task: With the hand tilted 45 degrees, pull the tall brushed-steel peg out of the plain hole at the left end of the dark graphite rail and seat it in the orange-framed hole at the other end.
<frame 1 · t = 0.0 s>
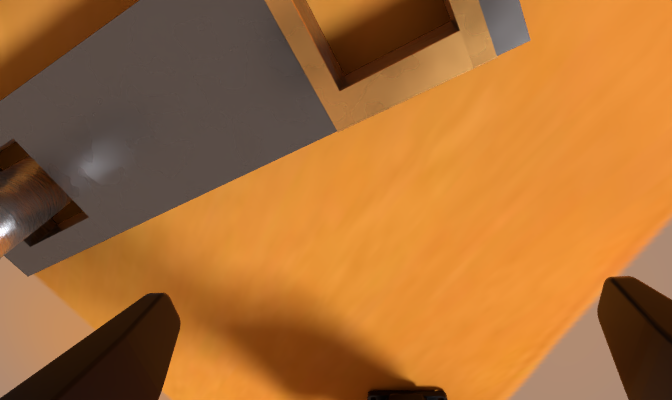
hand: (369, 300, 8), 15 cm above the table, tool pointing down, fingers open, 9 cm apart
peg: (52, 177, 26), resting in rail
rail: (184, 100, 22), on the table
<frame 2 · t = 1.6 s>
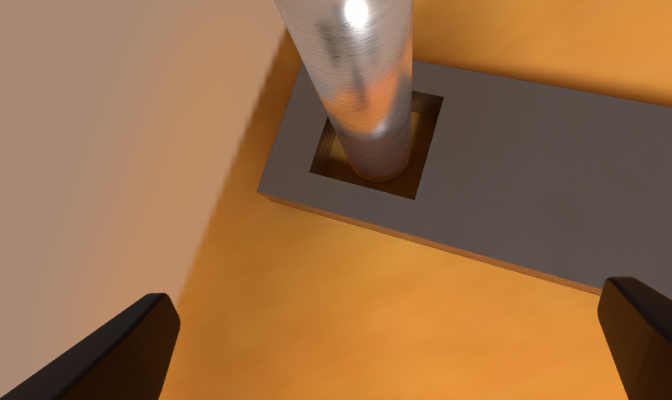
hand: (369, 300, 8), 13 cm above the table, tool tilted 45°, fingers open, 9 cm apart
peg: (379, 151, 23), resting in rail
rail: (592, 202, 21), on the table
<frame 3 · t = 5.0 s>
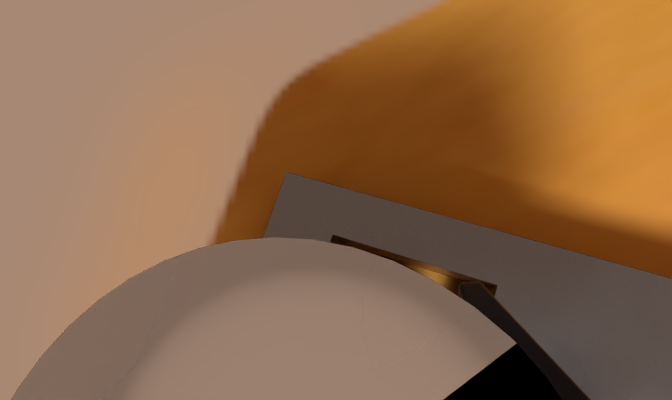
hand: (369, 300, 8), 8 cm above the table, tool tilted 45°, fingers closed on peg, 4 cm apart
peg: (390, 335, 15), resting in rail, touching gripper
when the fingers open (8 cm above the table, at t = 10.1 s): peg stays where it is, resting in rail.
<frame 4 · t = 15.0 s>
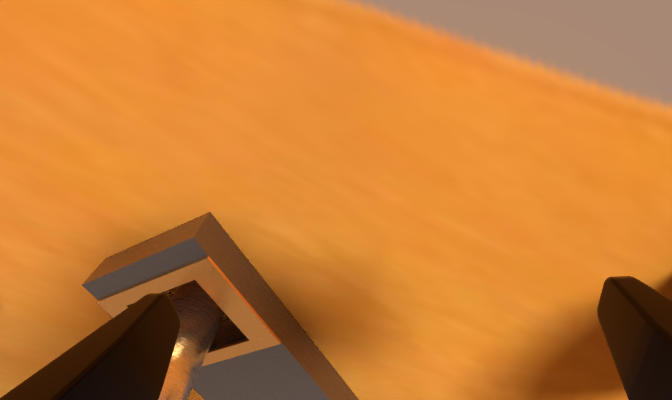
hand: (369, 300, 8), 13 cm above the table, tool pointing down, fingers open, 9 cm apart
peg: (205, 292, 28), resting in rail
rail: (290, 387, 32), on the table
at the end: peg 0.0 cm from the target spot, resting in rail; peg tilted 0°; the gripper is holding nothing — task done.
